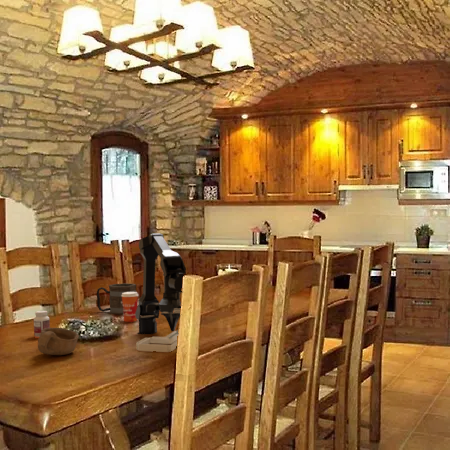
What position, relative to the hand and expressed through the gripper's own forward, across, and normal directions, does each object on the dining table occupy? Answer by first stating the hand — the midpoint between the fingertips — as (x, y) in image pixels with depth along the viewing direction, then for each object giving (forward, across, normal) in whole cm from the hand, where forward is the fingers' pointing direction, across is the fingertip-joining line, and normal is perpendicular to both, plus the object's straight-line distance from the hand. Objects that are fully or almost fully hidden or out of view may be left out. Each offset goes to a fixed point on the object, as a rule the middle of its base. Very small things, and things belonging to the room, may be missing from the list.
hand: (172, 331), depth 241 cm
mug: (+8, -50, +66) cm, 83 cm away
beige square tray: (+6, -5, 0) cm, 8 cm away
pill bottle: (+7, -59, +10) cm, 60 cm away
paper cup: (+7, -36, +46) cm, 59 cm away
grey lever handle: (+3, +1, 0) cm, 3 cm away
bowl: (+7, -37, -18) cm, 42 cm away
